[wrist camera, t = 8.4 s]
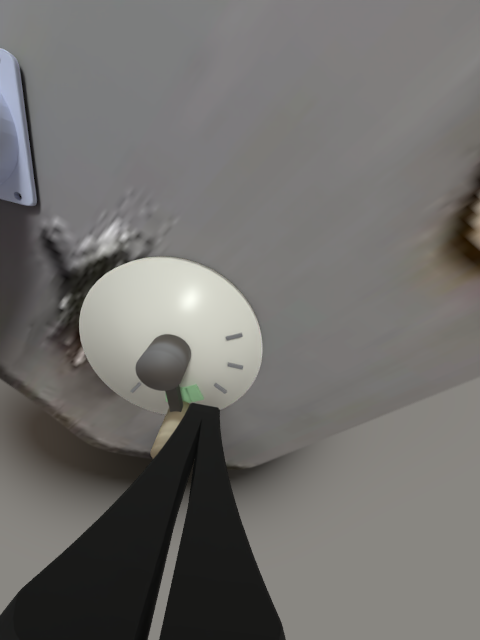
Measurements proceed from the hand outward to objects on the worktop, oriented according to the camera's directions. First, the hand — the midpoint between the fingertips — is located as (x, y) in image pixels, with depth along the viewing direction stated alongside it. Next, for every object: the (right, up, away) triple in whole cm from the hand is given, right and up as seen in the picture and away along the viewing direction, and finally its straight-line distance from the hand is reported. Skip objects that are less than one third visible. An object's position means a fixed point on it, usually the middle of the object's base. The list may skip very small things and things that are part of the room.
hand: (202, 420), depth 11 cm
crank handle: (-4, -1, +10) cm, 11 cm away
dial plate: (-4, +2, +10) cm, 11 cm away
